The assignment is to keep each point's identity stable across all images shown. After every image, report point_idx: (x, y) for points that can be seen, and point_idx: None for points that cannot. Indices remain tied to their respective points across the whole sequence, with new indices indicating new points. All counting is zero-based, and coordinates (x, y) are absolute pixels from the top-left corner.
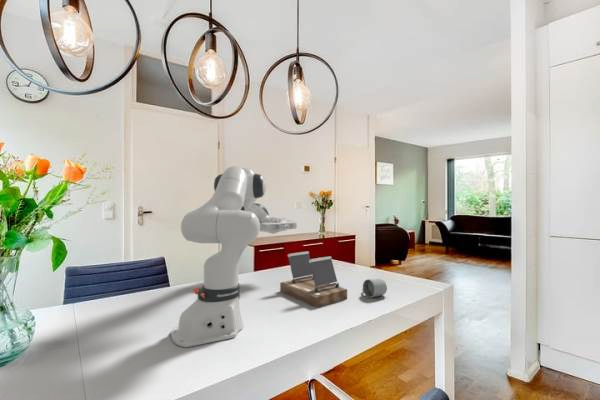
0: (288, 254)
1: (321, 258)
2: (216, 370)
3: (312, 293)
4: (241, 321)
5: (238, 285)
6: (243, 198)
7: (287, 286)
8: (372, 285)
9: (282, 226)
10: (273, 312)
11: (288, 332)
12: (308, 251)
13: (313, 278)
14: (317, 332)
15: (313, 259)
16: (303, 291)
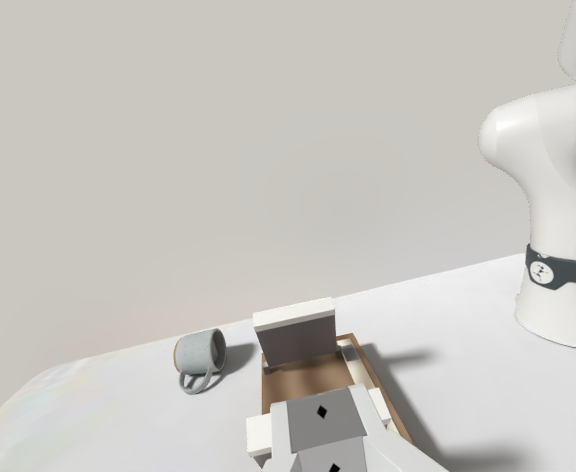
0: (386, 406)
1: (293, 306)
2: (508, 265)
3: (353, 347)
4: (518, 308)
5: (527, 247)
6: (559, 47)
7: (412, 443)
8: (212, 340)
9: (389, 448)
10: (459, 353)
11: (427, 298)
12: (248, 418)
13: (335, 339)
14: (385, 294)
15: (324, 299)
16: (369, 368)
